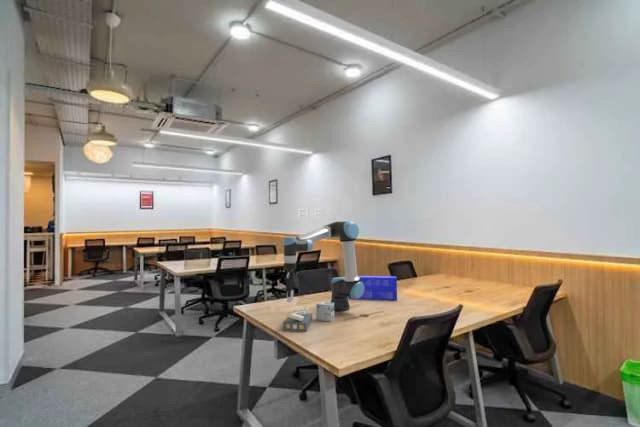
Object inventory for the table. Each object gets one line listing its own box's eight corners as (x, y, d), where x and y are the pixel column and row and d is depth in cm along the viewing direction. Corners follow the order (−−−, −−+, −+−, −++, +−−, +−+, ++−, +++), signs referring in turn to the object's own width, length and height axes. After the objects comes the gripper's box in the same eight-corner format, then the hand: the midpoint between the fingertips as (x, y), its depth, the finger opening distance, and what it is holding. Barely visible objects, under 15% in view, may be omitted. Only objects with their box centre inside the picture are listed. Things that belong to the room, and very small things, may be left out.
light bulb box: (334, 318, 218) (334, 302, 218) (331, 321, 211) (331, 304, 211) (319, 317, 221) (319, 301, 221) (316, 320, 215) (316, 303, 215)
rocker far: (307, 309, 211) (307, 306, 211) (306, 311, 207) (306, 308, 207) (294, 312, 212) (294, 309, 212) (293, 314, 208) (292, 311, 208)
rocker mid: (306, 312, 204) (305, 309, 204) (304, 314, 200) (304, 311, 201) (292, 315, 206) (291, 312, 206) (290, 317, 202) (290, 314, 202)
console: (312, 321, 212) (312, 311, 212) (306, 331, 192) (306, 321, 192) (291, 320, 214) (291, 311, 214) (283, 330, 194) (283, 320, 194)
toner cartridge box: (396, 298, 273) (396, 276, 274) (397, 300, 265) (396, 277, 265) (350, 296, 280) (350, 275, 281) (349, 298, 272) (349, 276, 273)
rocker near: (303, 319, 198) (304, 316, 198) (302, 321, 194) (302, 318, 194) (289, 315, 199) (290, 312, 199) (287, 317, 195) (288, 313, 195)
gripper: (287, 260, 206) (287, 298, 206) (280, 264, 190) (280, 304, 190) (298, 260, 205) (299, 298, 205) (293, 264, 189) (293, 305, 189)
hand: (290, 301), depth 197 cm, fingers open, 3 cm apart
